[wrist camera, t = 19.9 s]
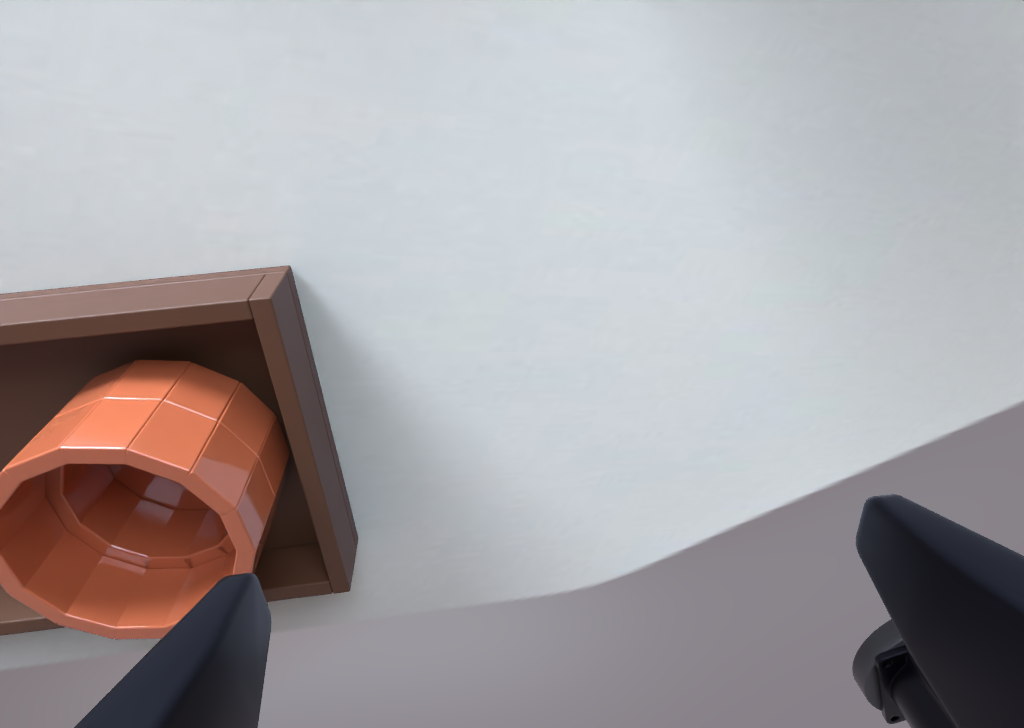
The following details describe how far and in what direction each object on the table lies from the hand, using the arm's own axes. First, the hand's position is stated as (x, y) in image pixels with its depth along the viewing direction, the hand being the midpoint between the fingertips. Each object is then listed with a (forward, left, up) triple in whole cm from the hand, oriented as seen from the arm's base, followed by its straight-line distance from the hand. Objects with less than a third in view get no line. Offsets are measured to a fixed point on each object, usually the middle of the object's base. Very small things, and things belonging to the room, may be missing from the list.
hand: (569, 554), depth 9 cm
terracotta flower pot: (-1, +12, -11) cm, 16 cm away
